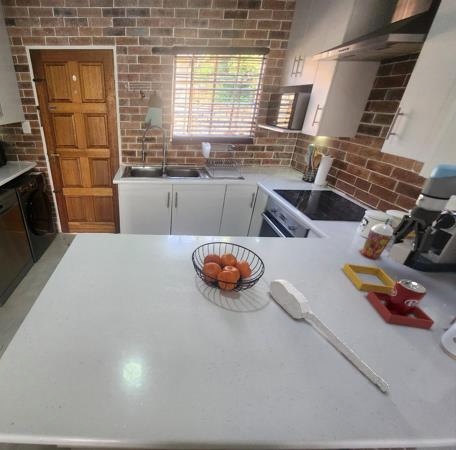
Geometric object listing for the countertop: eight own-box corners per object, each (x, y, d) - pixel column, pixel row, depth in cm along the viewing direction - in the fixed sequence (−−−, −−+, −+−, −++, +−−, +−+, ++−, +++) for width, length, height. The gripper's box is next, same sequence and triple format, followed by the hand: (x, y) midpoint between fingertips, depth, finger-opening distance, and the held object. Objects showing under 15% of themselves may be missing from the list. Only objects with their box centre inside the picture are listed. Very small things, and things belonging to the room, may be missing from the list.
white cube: (403, 264, 98) (410, 252, 95) (386, 256, 103) (393, 244, 100) (413, 262, 99) (420, 249, 97) (396, 254, 105) (403, 242, 102)
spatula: (366, 403, 62) (377, 398, 63) (384, 386, 58) (395, 381, 59) (265, 292, 92) (274, 290, 93) (272, 276, 88) (281, 274, 89)
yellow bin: (375, 275, 105) (379, 267, 104) (396, 296, 94) (401, 288, 92) (341, 271, 107) (345, 263, 106) (358, 291, 96) (362, 283, 94)
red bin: (401, 303, 91) (407, 295, 89) (428, 331, 80) (434, 322, 78) (365, 298, 92) (369, 290, 91) (385, 324, 82) (391, 315, 80)
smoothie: (355, 250, 124) (372, 213, 114) (373, 252, 123) (392, 215, 114) (365, 259, 116) (384, 221, 107) (384, 261, 115) (405, 223, 106)
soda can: (376, 307, 88) (392, 281, 82) (388, 302, 90) (404, 276, 85) (401, 323, 82) (420, 295, 76) (413, 317, 84) (432, 290, 79)
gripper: (397, 197, 101) (374, 245, 111) (440, 218, 82) (407, 273, 92) (418, 199, 100) (393, 247, 110) (466, 220, 81) (430, 275, 91)
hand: (399, 258), depth 101 cm, fingers closed on white cube, 8 cm apart
